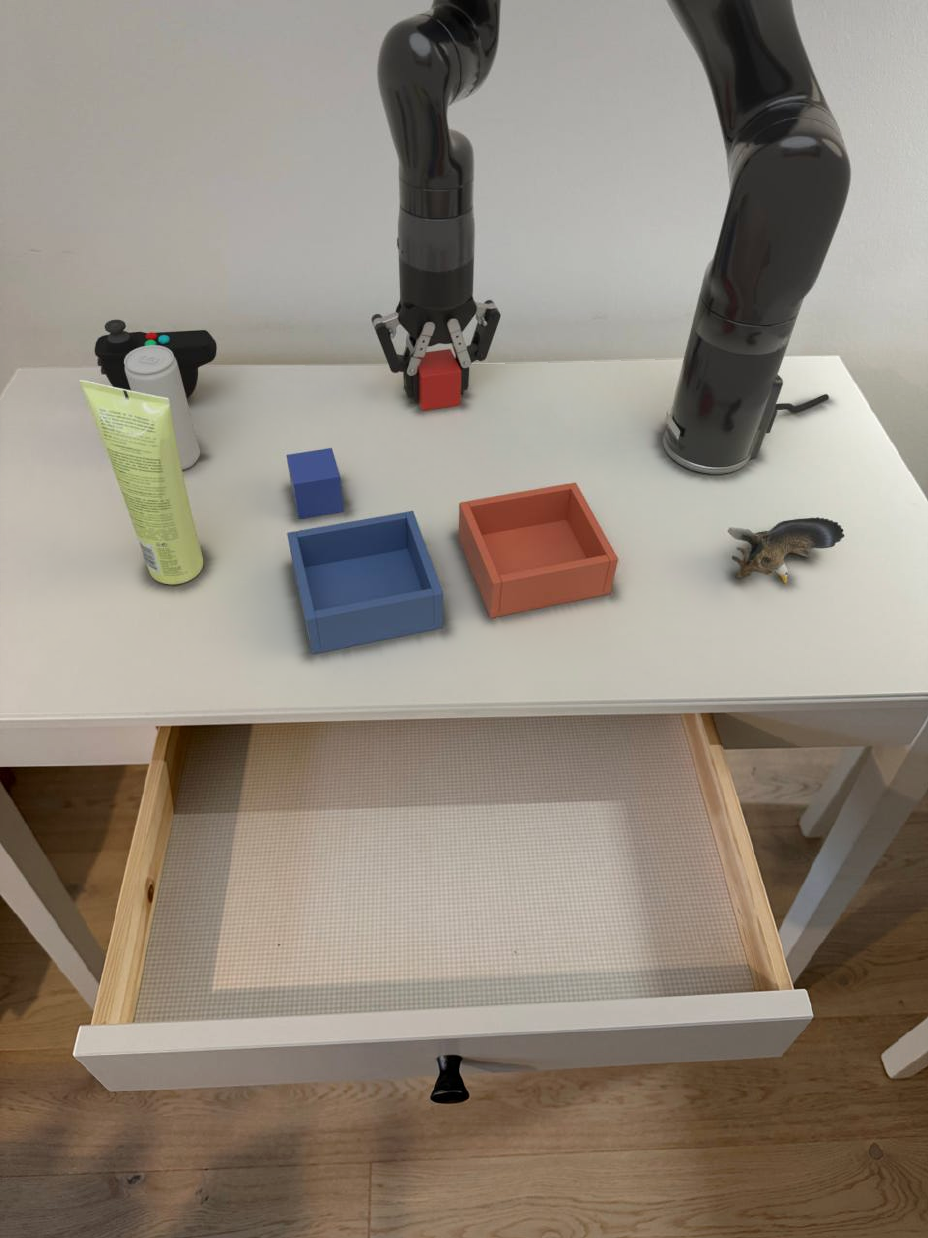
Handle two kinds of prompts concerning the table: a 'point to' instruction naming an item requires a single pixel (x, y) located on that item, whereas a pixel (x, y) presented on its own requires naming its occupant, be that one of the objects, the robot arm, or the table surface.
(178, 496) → the tube
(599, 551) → the red bin
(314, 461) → the blue block
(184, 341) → the controller
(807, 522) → the eagle figurine
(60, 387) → the table surface
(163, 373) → the upturned grey cup
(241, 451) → the table surface
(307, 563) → the blue bin
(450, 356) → the red block
